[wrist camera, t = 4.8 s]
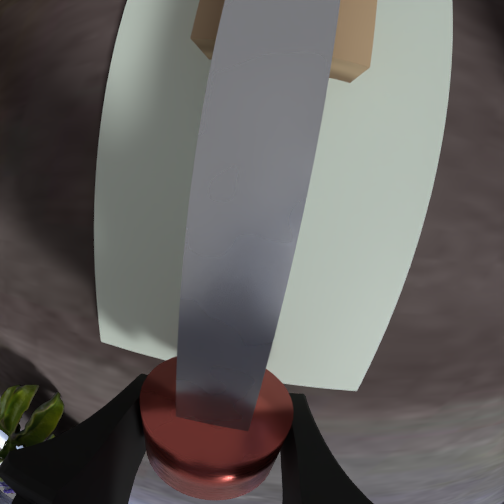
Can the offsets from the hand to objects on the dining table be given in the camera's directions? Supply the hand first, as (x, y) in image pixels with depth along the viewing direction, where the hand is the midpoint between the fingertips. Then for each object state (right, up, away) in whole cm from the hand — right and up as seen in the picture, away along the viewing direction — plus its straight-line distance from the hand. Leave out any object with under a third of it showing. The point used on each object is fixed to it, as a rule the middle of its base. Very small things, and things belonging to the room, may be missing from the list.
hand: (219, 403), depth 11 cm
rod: (+2, +8, -2) cm, 9 cm away
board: (+2, +13, -1) cm, 13 cm away
